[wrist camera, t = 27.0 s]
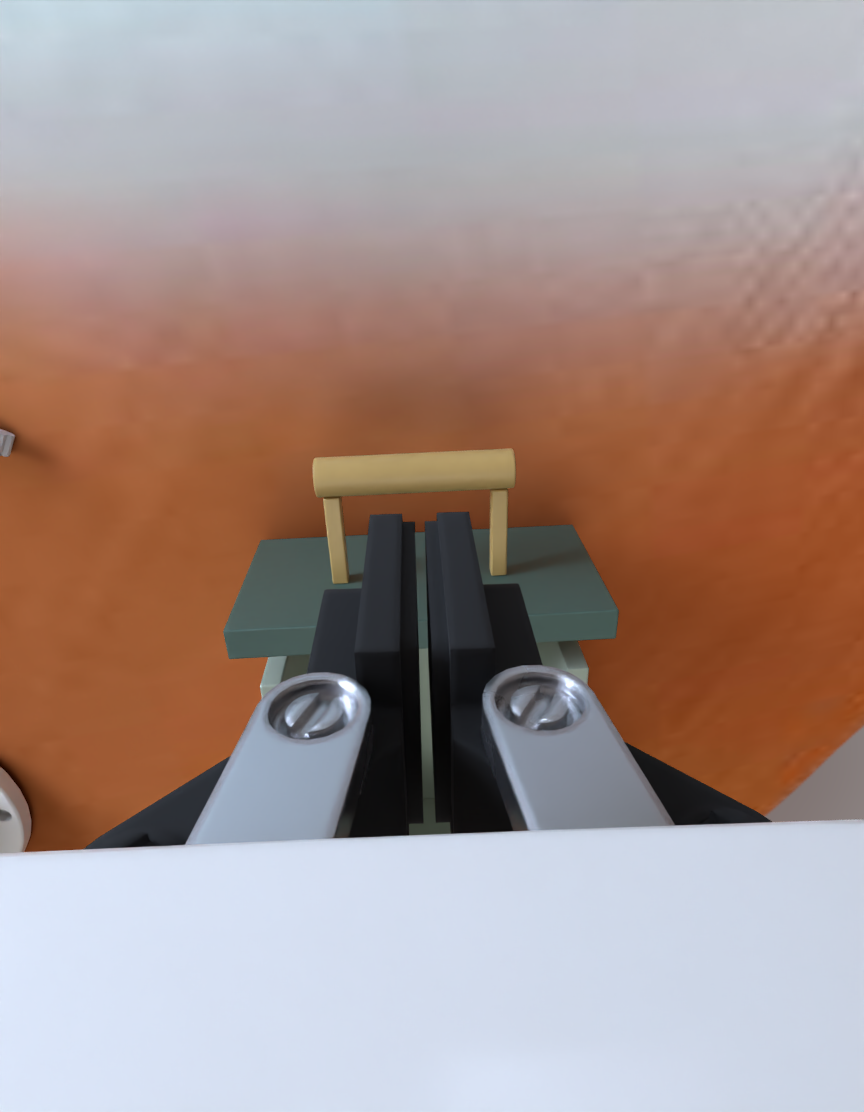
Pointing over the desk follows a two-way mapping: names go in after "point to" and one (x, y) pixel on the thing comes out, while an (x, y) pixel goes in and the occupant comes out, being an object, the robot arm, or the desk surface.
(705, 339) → the desk surface
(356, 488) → the drawer
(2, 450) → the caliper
